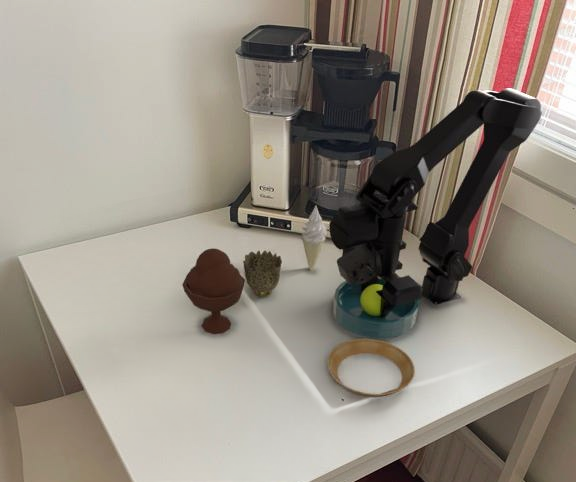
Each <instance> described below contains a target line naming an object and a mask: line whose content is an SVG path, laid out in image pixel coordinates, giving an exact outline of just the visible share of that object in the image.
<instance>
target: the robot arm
mask: <svg viewBox="0 0 576 482" xmlns="http://www.w3.org/2000/svg"><path fill="white" fill-rule="evenodd" d="M542 115H543V111H542V104H541V101H540V100H539V99H538V98H536V97H533V96H531V95H528V94H525V93H524V92H521V91H519V90H516V89H515V88H510V87H507V88H504V89H502V90H501V91H492V90H483V91H482V90H480V89H476V90H470V91H469V92H468V93H467V94H466V95H465V96H464V98H463V100H462V102H461V103H459V104H458V105H457V106H456V107H455V108H454V109H453V110H451V111H450V112H449V113H448V114H447V115H446V116H444V117H443V118H442V119H441V120H440V121H439V122H438V123H437V124H436V125H434V126H433V127H432V128H431V129H430V130H428V132H427V133H425V134H424V135H423V136H422V137H421V138H419V140H417V141H416V142H415V143H413V144H412V145H411V146H409V147H407V148H403V149H400V150H396V151H394V152H392V153H391V154H389V155H387V156H386V157H384V158H383V159H381V160H380V161H379V162H377V164H375V166H374V167H373V169H372V171H371V174H370V175H369V177H368V178H367V179H366V181H365V182H364V184H362V187H361V188H360V189H359V191H358V193H357V194H356V196H355V200H357V201H358V202H359V203H360V204H359V203H358V204H354V205H349V206H342V207H338V209H337V214H335V215H333V216H332V218H331V220H330V222H329V225H328V230H329V236H330V239H331V241H332V244H333V245H334V246H335V248H336V249H338V250H340V251H341V250H342V252H341V256H340V257H338V258H337V259H336V265H337V268H338V272H339V276H341V277H342V278H343V279H344V280H345V281H347V283H348V284H350V285H355V284H357V283H358V282H359V283H360V284H361V288H362V292H363V291H364V290H365V289H366V288H367V287H368V286H370V285H374V284H376V283H377V281H378V278H379V279H384V280H385V281H386V283H385V284H384V285H383V286H382V290H378V291H376V293H377V294H378V295H379V296H380V297H381V306H380V317H381V318H384V317H386V316H387V315H388V314H389V313H390V311H391V310H392V309H393V308H394V307H395V306H397V305H401V304H405V303H408V302H412V301H416V300H421V298H422V296H424V297H425V298H426V299H427V300H428V301H430V302H431V303H432V304H433V305H441V304H444V303H447V302H451V301H455V300H459V299H462V297H461V295H460V294H459V293H457V291H458V289H459V283H460V282H462V281H463V279H464V278H467V277H469V274H470V272H471V271H472V269H473V265H472V264H471V263H470V262H469V260H468V259H467V258H466V257H465V255H466V253H467V251H468V248H469V245H470V229H469V228H470V226H471V225H472V223H473V221H474V219H475V217H476V216H477V214H478V212H479V210H480V208H481V206H482V204H483V203H484V202H485V199H486V197H487V195H488V193H489V191H490V189H491V188H492V186H493V184H494V182H495V180H496V178H497V177H498V174H499V173H500V171H501V169H502V167H503V166H504V163H505V162H506V159H507V158H508V156H509V154H510V153H511V152H512V151H513V150H515V149H516V148H517V147H519V146H520V145H522V144H524V142H526V141H527V140H528V139H529V137H530V136H531V134H532V133H533V131H534V130H535V128H536V126H537V125H538V124H539V122H540V120H541V117H542ZM482 126H483V140H482V143H481V144H480V145H479V149H478V150H477V152H476V154H475V156H474V158H473V160H472V162H471V164H470V166H469V168H468V170H467V172H466V174H465V176H464V177H463V180H462V181H461V184H460V185H459V188H458V190H457V191H456V192H455V195H454V197H453V199H452V201H451V203H450V204H449V206H448V209H447V211H446V212H445V214H444V215H443V217H442V218H440V219H438V220H437V221H436V222H433V221H429V222H428V224H427V225H426V227H425V229H424V231H423V234H422V236H420V238H419V239H418V240H419V241H420V242H419V244H418V251H419V255H420V256H421V260H422V262H423V263H425V264H427V265H428V266H427V268H426V273H425V275H424V276H423V280H422V284H421V285H420V284H419V283H418V282H417V281H416V280H415V279H414V278H412V277H411V275H404V276H400V275H398V274H397V273H396V271H399V270H402V269H403V265H404V263H403V262H401V261H400V254H401V251H402V250H406V248H407V243H406V242H405V241H404V240H403V236H404V230H405V224H406V218H407V213H408V212H412V211H416V210H418V208H419V205H418V204H416V203H415V202H414V200H413V199H414V198H415V196H416V195H417V194H418V193H419V192H420V191H422V189H423V188H424V186H425V185H426V183H427V180H428V177H429V175H430V172H431V171H432V170H433V169H434V168H435V167H436V166H437V165H438V164H440V163H441V162H442V161H443V160H444V159H445V158H447V157H448V156H449V155H450V154H451V153H453V151H455V150H456V149H457V148H458V147H459V146H460V145H461V144H462V143H464V142H465V141H466V140H467V139H468V138H469V137H471V136H472V135H473V134H474V133H475V132H477V130H479V129H480V128H481V127H482ZM375 193H377V194H378V195H380V196H382V197H383V198H384V199H385V200H381V199H380V198H379V197H377V196H375V195H374V194H375Z"/></svg>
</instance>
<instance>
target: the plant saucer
mask: <svg viewBox="0 0 576 482" xmlns="http://www.w3.org/2000/svg"><path fill="white" fill-rule="evenodd" d="M362 354H364V355H365V354H369V355H376V356H379V357H383V358H385V359H387V360H389V361H391V362H392V364H394V365H395V366H396V367H397V368H398V369H399V371H400V374H401V382H400V384H399V386H398V387H397V388H395V389H390V390H388V391H385V392H381V393H368V392H362V391H359V390H356V389H353V388H350V387H349V386H347V385H345V384H344V383H343V382H342V381H341V379H340V377H339V372H338V371H339V366H340V365H341V364H342V363H343V361H345V360H346V359H348V358H350V357H353V356H356V355H362ZM327 368H328V371H329V373H330V375H331V376H332V378H333V379H334V380H335V381H336V382H337V383H338V385H340V386H341V387H342V388H344V389H346V390H347V391H349V392H351V393H353V394H355V395H358V396H362V397H366V398H384V397H387V396H388V397H389V396H391V395H394V394H397V393H398V392H401V391H402V390H404V389H405V388H407V387H408V386H409V385H410V384H411V383H412V381H413V379H414V377H415V375H416V374H415V373H416V369H415V364H414V361H413V360H412V359H411V357H410V356H409V355H408V354H407V353H406V352H405V351H404V350H403V349H401V348H400V347H399V346H397V345H394V344H392V343H390V342H387V341H384V340H381V339H375V338H355V339H350V340H347V341H343V342H342V343H340V344H338V345H337V346H335V347H334V348H333V349H332V350H331V351H330V353H329V355H328V357H327Z"/></svg>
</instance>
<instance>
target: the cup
mask: <svg viewBox="0 0 576 482" xmlns="http://www.w3.org/2000/svg"><path fill="white" fill-rule="evenodd" d="M282 261H283V259H282V257H281V255H278V254H277V253H276V252H275V253H274V254H273V253H272V252H271V251H268V252H267V250H264V251H262V253H261V250H257V251H256V253H255V252H254V251H250V252H249V253H248V254H245V255H244V260H242V262H243V269H244V275H245V276H244V277H245V282H246V283H247V286H248V287H249V288H250V289H251V290H252V293H253V294H254V296H256V297H258V298H267V297H269V296H271V295H272V292H273V291H274V290H275V288H276V287H277V286H278V284H279V280H280V277H281V269H282Z"/></svg>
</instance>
